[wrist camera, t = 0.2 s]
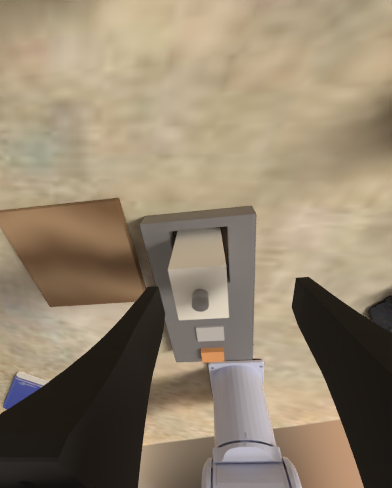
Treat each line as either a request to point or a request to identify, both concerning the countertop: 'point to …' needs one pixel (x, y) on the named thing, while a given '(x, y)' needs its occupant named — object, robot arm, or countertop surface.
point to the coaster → (76, 251)
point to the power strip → (238, 283)
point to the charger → (199, 274)
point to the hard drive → (22, 388)
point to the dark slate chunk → (383, 314)
